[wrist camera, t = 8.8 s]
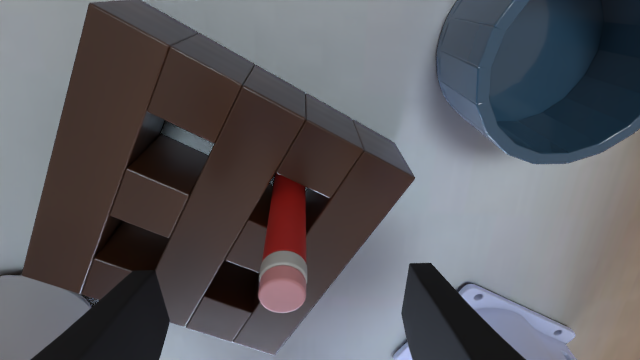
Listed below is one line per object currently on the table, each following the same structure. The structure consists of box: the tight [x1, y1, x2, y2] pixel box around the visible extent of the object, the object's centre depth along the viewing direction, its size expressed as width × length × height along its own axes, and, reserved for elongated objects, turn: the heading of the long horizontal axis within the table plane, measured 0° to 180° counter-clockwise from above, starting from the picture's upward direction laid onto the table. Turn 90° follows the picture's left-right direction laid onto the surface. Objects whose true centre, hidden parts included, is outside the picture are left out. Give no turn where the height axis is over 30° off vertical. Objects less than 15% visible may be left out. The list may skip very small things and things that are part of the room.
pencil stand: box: [22, 0, 415, 355], centre depth 16 cm, size 12×12×4 cm
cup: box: [436, 0, 640, 164], centre depth 13 cm, size 7×7×4 cm
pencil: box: [258, 172, 307, 313], centre depth 13 cm, size 2×1×8 cm
